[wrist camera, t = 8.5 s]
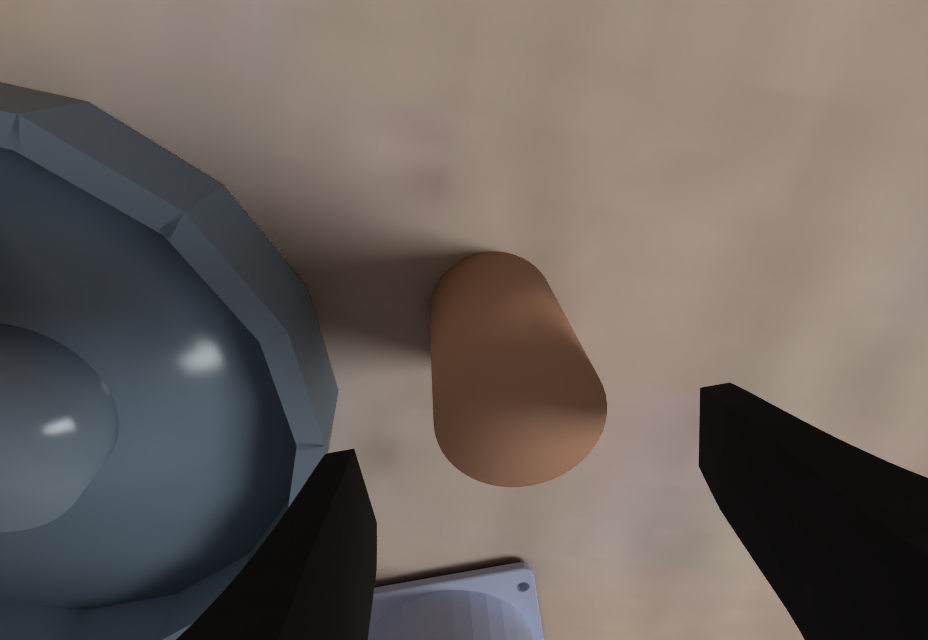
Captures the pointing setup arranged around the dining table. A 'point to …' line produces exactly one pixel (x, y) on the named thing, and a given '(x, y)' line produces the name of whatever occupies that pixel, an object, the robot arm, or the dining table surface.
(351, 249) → the dining table surface
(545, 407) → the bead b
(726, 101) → the dining table surface
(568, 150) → the dining table surface
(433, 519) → the dining table surface
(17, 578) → the ring tray
